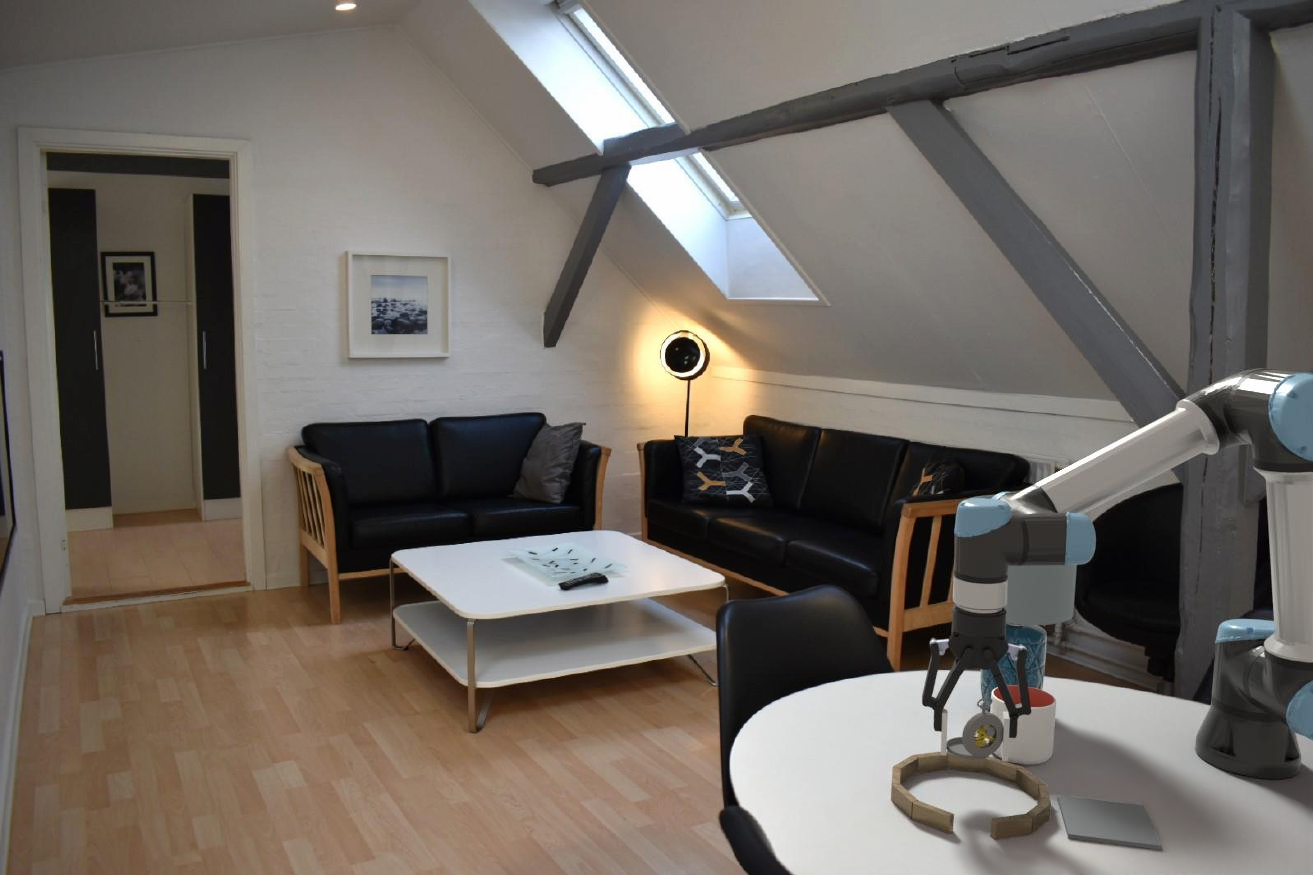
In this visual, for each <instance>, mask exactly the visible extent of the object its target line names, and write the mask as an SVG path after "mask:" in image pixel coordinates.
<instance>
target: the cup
mask: <svg viewBox="0 0 1313 875" xmlns="http://www.w3.org/2000/svg"><path fill="white" fill-rule="evenodd" d="M1007 686H1008V688H1009V690H1010V693H1011V695H1012V698H1013V700H1014V702H1015V705H1016V704H1020V703H1021V700H1020V694H1019V687H1018V685H1007ZM1028 691H1029V698H1030V704H1031V714H1030V715H1021V716H1019V718H1018V723H1017V736H1016V738H1009V749H1008V761H1007V762H1008V763H1012V764H1016V765H1018V764H1019V765H1025V766H1027V765H1032V766H1033V765H1040V764H1043V763H1045V762H1048V761H1049V760H1050V759H1051V757H1052V756H1053V752H1054V739H1055V728H1056V727H1055V726H1056V725H1055V723H1056V710H1057V709H1056V708H1057V699H1056V698H1055V697H1054V695H1053V694H1051V693H1049V692H1047V691H1045V690H1043V689H1042V690H1040V689H1037V688H1033V687H1028ZM991 699H992V700H993V702H992V704H991V709H989V710H990V711H989V713H993V714H994V715H996V716H997V717H998V718H999V719H1000V720H1001V722H1002V721H1003V711H1004V712H1008V710H1007V708H1006V705H1005V703H1004V701H1003V698H1002V696H1001V694H1000V691H999V689H998V687H997V688H995V689H994V690H993V691H992V693H991ZM990 738H991V737H990ZM1001 746H1002V743H1001V745H1000V747H999V748H998V749H997V750H996V751H995V752H994V753H993V754H995V756H997V757H998V758H1000V759H1002V755H1001Z"/></svg>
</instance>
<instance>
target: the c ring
mask: <svg viewBox="0 0 1313 875" xmlns="http://www.w3.org/2000/svg"><path fill="white" fill-rule="evenodd" d="M891 770H892V773H891V774H892V775H891V790H890V792H891V793H890V794H891V795H890V800H891V802H893V804H895V805H896V806H897V807H898V808H899V809H900V810H901V811H902V812H903V813H905V815H906V816H908V817H909V818H910V819H911V820H913V821H916V822H917V823H920V824H923V825H925V826H928V827H930V828H933V829H936V830H938V831H941V832H943V833H946V834H951V833H952V832H954V823H955V822H954V821H955V813H952V812H950V811H948V810H945V809H943V808H940V807H937V806H934V805H931V804H929V803H926V802H923V801H920V800H918V799H917V797H915V796H914V795H913V794H912V793H911V792H910V791H909V790H907V789H906V788H905V787H904V786H903V785H902V783H904V782H905V781H907V780H909V779H910V778H912V777H914V776H915V775H917V774H920V773H928V772H929V773H930V772H935V771H944V770H953V771H962V772H967V773H968V772H969V773H979V774H980V773H981V774H984V775H987V776H990V777H993V778H996V779H999V780H1002V781H1004V782H1008V783H1011V784H1014V785H1016V786H1017V787H1018V788H1020V789H1021V790H1023V791H1024V792H1025V793H1027V794H1028V795H1030V796H1031V797H1032V798H1034V799H1035V801H1037V804H1036V805H1035V806H1034V807H1032V808H1031V809H1030V810H1028V811H1027V812H1026V813H1020V814H1014V815H1006V816H1000V817H994V818H993V817H992V818H990V831H989V832H990V833H989V835H990V837H991V838H992V839H993V840H1003V839H1009V838H1017V837H1023V836H1028V835H1029V836H1030V835H1033V834H1034V833H1036V831H1038V830H1039V829H1040V828H1042V827H1043V826H1044V825H1045V824H1046V823H1047V822H1049V821H1050V820H1051V812H1052V800H1051V796H1050V793H1049V790H1048V785H1047V784H1046V783H1045V782H1044V781H1042V779H1039V778H1038V777H1036V776H1035V775H1034V774H1032V773H1031V772H1030V771H1028V770H1027V769H1025V768H1024V767H1022V766H1020V765H1018V764H1015V763H1012V762H1009V761H1002V759H998V758H995V757H992V756H991V755H990V756H988V757H987V758H983V759H976V760H974V759H964V758H960V757H957V756H954V755H953V754H951V753H949V752H948V751H947V750H946V756H944V755H941V751H934V752H933V751H932V752H928V753H927V752H926V753H919V754H912V755H909V756H908V757H907V758H905V759H903V760H902V761H900V762H898V763H897V764H895V765H893V766H892V769H891Z"/></svg>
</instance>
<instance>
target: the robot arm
mask: <svg viewBox="0 0 1313 875" xmlns="http://www.w3.org/2000/svg"><path fill="white" fill-rule="evenodd" d="M1241 445H1251V451H1252V452H1251V453H1252V467H1253V469H1254V470H1255V471H1256V472H1258V474H1260V475H1261V476H1262V477H1264V479H1265V488H1266V506H1267V523H1268V539H1269V555H1270V556H1269V558H1270V571H1271V572H1270V574H1271V589H1272V590H1271V592H1272V604H1273V605H1272V606H1273V608H1272V610H1273V620H1267V619H1265V620H1264V619H1255V618H1253V619H1251V618H1249V619H1248V618H1237V619H1236V618H1233V619H1229V620H1225V621H1223V622H1221V623H1220V624H1219V626H1218V629H1217V633H1216V636H1215V637H1216V638H1215V641H1214V644H1215V653H1214V663H1213V664H1214V665H1213V678H1212V689H1211V702H1210V707H1209V709H1208V711H1207V713H1206V715H1205V717H1204V719H1203V720H1202V723H1201V725H1200V727H1199V728H1198V729H1199V730H1197V734H1196V736H1195V744H1194V750H1195V752H1196V754H1197V756H1199V757H1200V758H1201V759H1202V760H1204V761H1205V762H1207V763H1209V764H1211V765H1213V766H1214V767H1217V768H1220V769H1222V770H1224V771H1227V772H1230V773H1234V774H1238V775H1242V776H1247V777H1252V778H1257V779H1258V778H1259V779H1270V780H1271V779H1272V780H1274V779H1276V780H1280V779H1286V778H1291V777H1295V776H1297V775H1298V774H1299V773H1300V772H1301V767H1302V753H1301V749H1300V745H1299V741H1298V739H1297V735H1300V736H1302V737H1303V736H1304V737H1305V738H1307V739H1309V740H1311V741H1313V372H1300V371H1290V370H1278V369H1272V368H1259V367H1257V368H1251V369H1247V370H1243V371H1240V372H1237V373H1234V374H1231V375H1229V376H1227V377H1225V378H1222V379H1219V380H1218V381H1216V382H1214V383H1211V384H1210V385H1207V386H1205V387H1204V388H1202V389H1200V390H1198V391H1196V392H1194V393H1192V394H1190V395H1188V396H1186V397H1184V398H1182V399H1181V400H1179V401H1177V402H1176V404H1175V410H1174V411H1171V412H1170V413H1168V414H1166V415H1164V416H1162V417H1160V418H1158V419H1156V420H1154V421H1153V422H1151V423H1149V424H1147V425H1145V426H1143V427H1140V428H1139V429H1138V430H1135V431H1134V432H1132V433H1130V434H1127V435H1126V436H1124V437H1122V438H1120V439H1118V440H1115V441H1114V442H1113V443H1110V444H1108V445H1106V446H1105V447H1103V448H1101V449H1099V450H1097V451H1095V452H1092V453H1091V454H1090V455H1088V456H1086V457H1084V458H1082V459H1080V460H1078V461H1077V462H1074V463H1073V464H1071V465H1069V466H1066V467H1065V468H1063V469H1061V470H1059V471H1056V472H1055V473H1053V474H1051V475H1049V476H1048V477H1045V478H1043V479H1042V480H1039V482H1036V483H1034V484H1032V485H1030V486H1027V487H1026V488H1023V489H1022V490H1020V491H1017V492H1016V491H1001V492H999V493H997V494H994V495H995V496H993V497H992V498H991V499H985V498H973V497H972V498H973V499H970V498H967V499H963V500H962V501H961V502H959V504H958V506H957V508H956V514H955V524H954V530H953V532H954V568H953V581H952V582H953V585H952V587H953V588H952V601H953V603H954V604H953V606H952V612H951V613H952V614H951V615H952V616H951V620H952V621H951V634H950V635H949V636H948V638H945V639H937V638H936V637H932V638H931V639H930V640H929V650H930V658H929V663H928V669H927V672H926V677H925V681H924V685H923V686H924V687H923V689H922V695H921V703H922V706H924V707H926V708H927V707H928V708H931V709H932V711H933V730H934V732H939V733H940V752H941V755H944V756H946V751H947V749H946V747H947V741H948V719H949V718H948V716H949V714H948V713H949V712H948V706H946V704H947V702H948V700H949V699H950V697H951V695H952V692H953V691H954V689H955V687H956V685H957V684H958V681H959V679H960V678H961V676H962V674H964V672H965V670H966V669H967V670H968V669H970V670H973V669H978V670H979V669H980V670H981V669H982V670H989V669H990V670H991V673H992V675H993V677H994V679H995V682H996V684H997V686H998V689H999V691H1000V694H1001V696H1002V698H1003V701H1004V703H1005V705H1006V708H1007V710H1008V712H1004V711H1003V721H1002V724H1003V727H1004V729H1003V741H1002V746H1001V755H1002V758H1001V760H1002V761H1005V762H1009V761H1008V749H1009V738H1016V736H1017V723H1018V718H1019V716H1021V715H1030V714H1031V704H1030V698H1029V691H1028V684H1027V677H1026V670H1025V663H1026V659H1027V654H1028V653H1027V650H1026V647H1025V645H1023V644H1020V645H1018V646H1017V645H1013V644H1009V643H1008V642H1007V640H1006V636H1005V634H1006V610H1005V609H1004V607H1005V606H1006V605H1007V586H1008V568H1009V566H1069V565H1077V566H1078V565H1085V564H1087V563H1089V562H1090V561H1091V560H1092V559H1093V557H1094V554H1095V551H1096V545H1097V544H1096V543H1097V537H1096V530H1095V526H1094V523H1093V522H1092V519H1091V518H1090V517H1088V515H1087V514H1085V513H1088V512H1089V511H1091V510H1093V509H1095V508H1096V507H1099V506H1101V505H1102V504H1105V503H1106V502H1108V501H1110V500H1112V499H1114V498H1116V497H1118V496H1121V495H1122V494H1125V493H1126V492H1128V491H1130V490H1132V489H1134V488H1135V487H1138V486H1140V485H1142V484H1143V483H1146V482H1148V481H1150V480H1151V479H1154V478H1155V477H1157V476H1159V475H1161V474H1163V473H1165V472H1167V471H1169V470H1171V469H1173V468H1174V467H1177V466H1180V465H1181V464H1182V463H1185V462H1187V461H1188V460H1190V459H1193V458H1194V457H1196V456H1198V455H1200V454H1206V455H1210V456H1211V455H1215V454H1217V453H1219V452H1221V451H1223V450H1225V449H1227V448H1231V447H1235V446H1241ZM947 649H950V651H951V653H953V655H954V657H955V659H954V661H953V664H952V667H950V669H949V672H948V674H947V676H946V678H945V680H944V682H943V684H942V685H941V687H940V689H939V691H938V693H937V694H936V696H935V697H934V696H933V692H934V689H935V684H936V679H937V675H938V671H939V667H940V660H941V656H944V654H945V653H946V650H947ZM1006 652H1009V653H1010V654H1011V658H1012V660H1014V661H1015V666H1016V673H1017V680H1018V687H1019V694H1020V700H1021V703H1020V704H1016V705H1015V702H1014V700H1013V698H1012V695H1011V693H1010V690H1009V688H1008V686H1007V683H1006V681H1005V678H1004V676H1003V674H1002V671H1001V669H1000V666H999V664H998V662H999V660H1000V659H1001V658H1002V657H1003V656H1004V655H1005V654H1006Z"/></svg>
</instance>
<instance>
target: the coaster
mask: <svg viewBox="0 0 1313 875" xmlns="http://www.w3.org/2000/svg"><path fill="white" fill-rule="evenodd" d="M1056 799H1057V802H1058V806H1059V810H1060V814H1061V817H1062V821H1063V824H1064V828H1065V832H1066V835H1067V839H1071V840H1072V839H1073V840H1079V841H1080V840H1082V841H1089V842H1097V843H1106V844H1112V845H1119V846H1120V845H1122V846H1128V847H1136V848H1137V847H1138V848H1144V849H1145V848H1146V849H1152V850H1160V851H1161V850H1162V849H1163V845H1162V843H1161V840H1160V838H1159V836H1158V834H1157V832H1156V829H1155V827H1154V825H1153V822H1152V820H1151V818H1150V816H1149V813H1148V811H1147V809H1146V807H1145V804H1137V803H1129V802H1120V801H1113V800H1103V799H1097V798H1096V799H1095V798H1088V797H1087V798H1086V797H1078V796H1070V795H1069V796H1068V795H1063V794H1062V795H1061V794H1057V798H1056Z"/></svg>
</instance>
